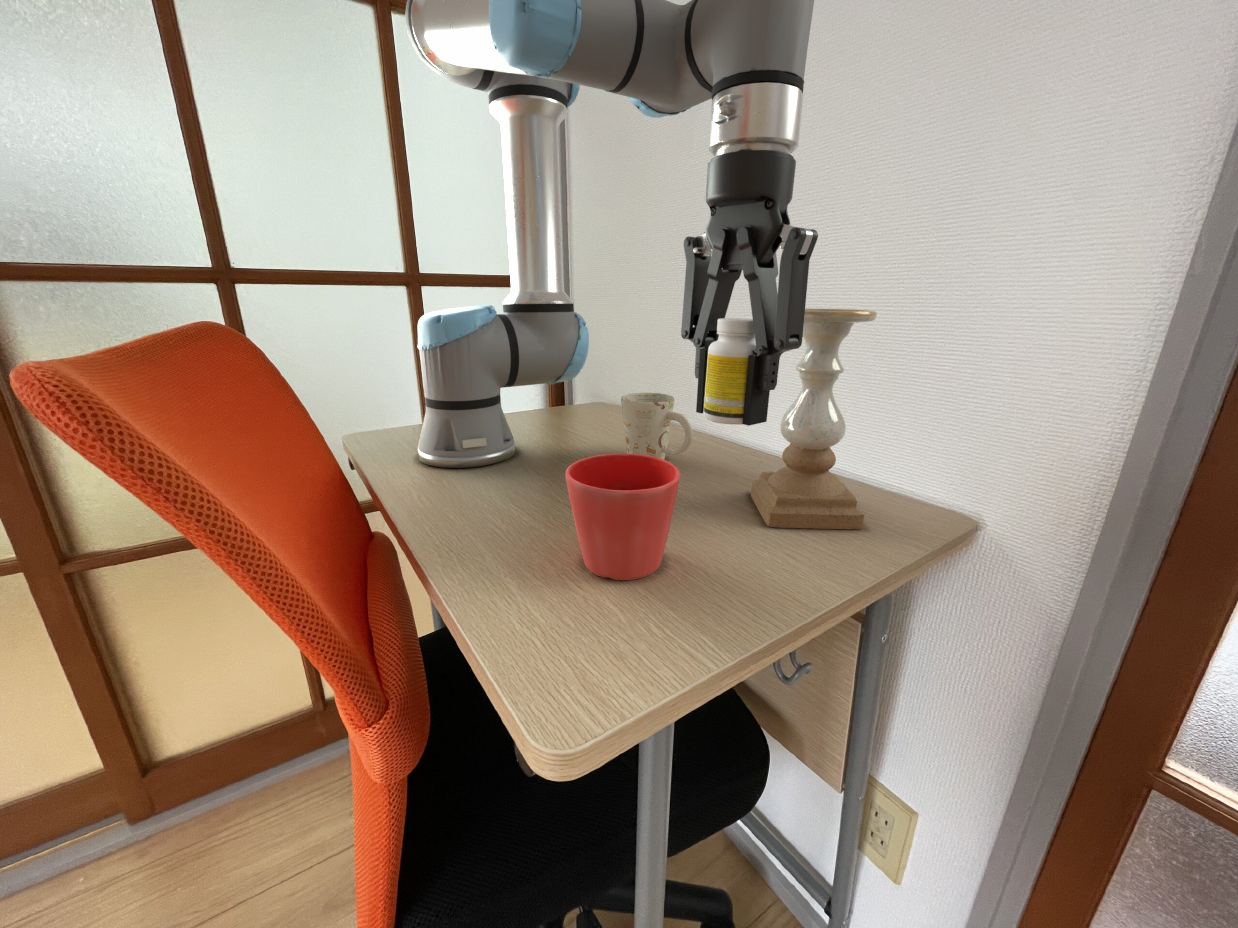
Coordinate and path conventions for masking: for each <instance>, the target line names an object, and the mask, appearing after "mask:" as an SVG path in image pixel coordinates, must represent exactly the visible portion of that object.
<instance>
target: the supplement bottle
mask: <svg viewBox="0 0 1238 928" xmlns="http://www.w3.org/2000/svg"><path fill="white" fill-rule="evenodd" d="M717 334H719V338H718V340H717V341H715V342H713V343H711V344H710V346H709V348H708V359H707V372H706V384H705V397H704V409H703V413H702V414H703V415H702V416H703V417H704V419H706V420H707V421H710V422H712V423H716V424H723V425H743V424H742V423H743V412H744V401H745V390H746V379H747V368H748V357H749V355H753V354H752V351H754V350H757V349H756V341H755V333H754V325H753V318H739V317H738V318H734V317H733V318H732V317H731V318H729V317H728V318H727V317H725V318H721V319H718V323H717Z"/></svg>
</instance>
